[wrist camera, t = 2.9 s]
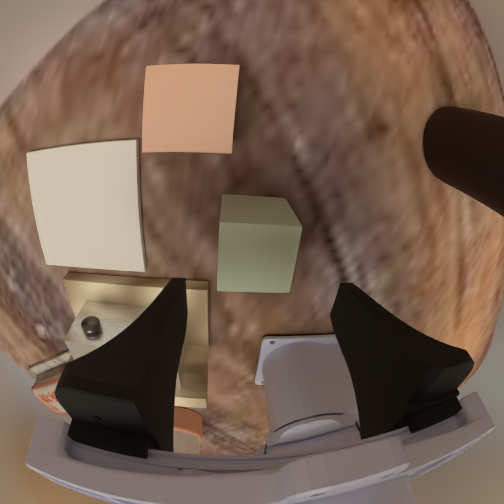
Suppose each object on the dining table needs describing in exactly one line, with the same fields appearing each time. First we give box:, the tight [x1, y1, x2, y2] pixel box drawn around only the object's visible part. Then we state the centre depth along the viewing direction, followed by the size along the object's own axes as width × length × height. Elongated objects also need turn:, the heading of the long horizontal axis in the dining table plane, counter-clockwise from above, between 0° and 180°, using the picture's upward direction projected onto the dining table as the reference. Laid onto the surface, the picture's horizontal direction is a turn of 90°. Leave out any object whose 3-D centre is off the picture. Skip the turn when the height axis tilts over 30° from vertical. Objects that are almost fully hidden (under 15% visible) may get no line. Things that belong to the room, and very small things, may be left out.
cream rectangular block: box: [64, 300, 187, 389], centre depth 20 cm, size 9×5×5 cm, turn 85°
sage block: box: [217, 194, 302, 293], centre depth 18 cm, size 4×4×5 cm
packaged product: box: [28, 351, 71, 414], centre depth 27 cm, size 18×5×10 cm
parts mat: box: [27, 139, 147, 272], centre depth 17 cm, size 10×10×1 cm
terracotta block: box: [142, 64, 239, 154], centre depth 13 cm, size 4×4×5 cm
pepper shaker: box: [173, 407, 203, 454], centre depth 25 cm, size 7×7×19 cm
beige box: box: [63, 272, 209, 408], centre depth 20 cm, size 13×8×7 cm, turn 85°
